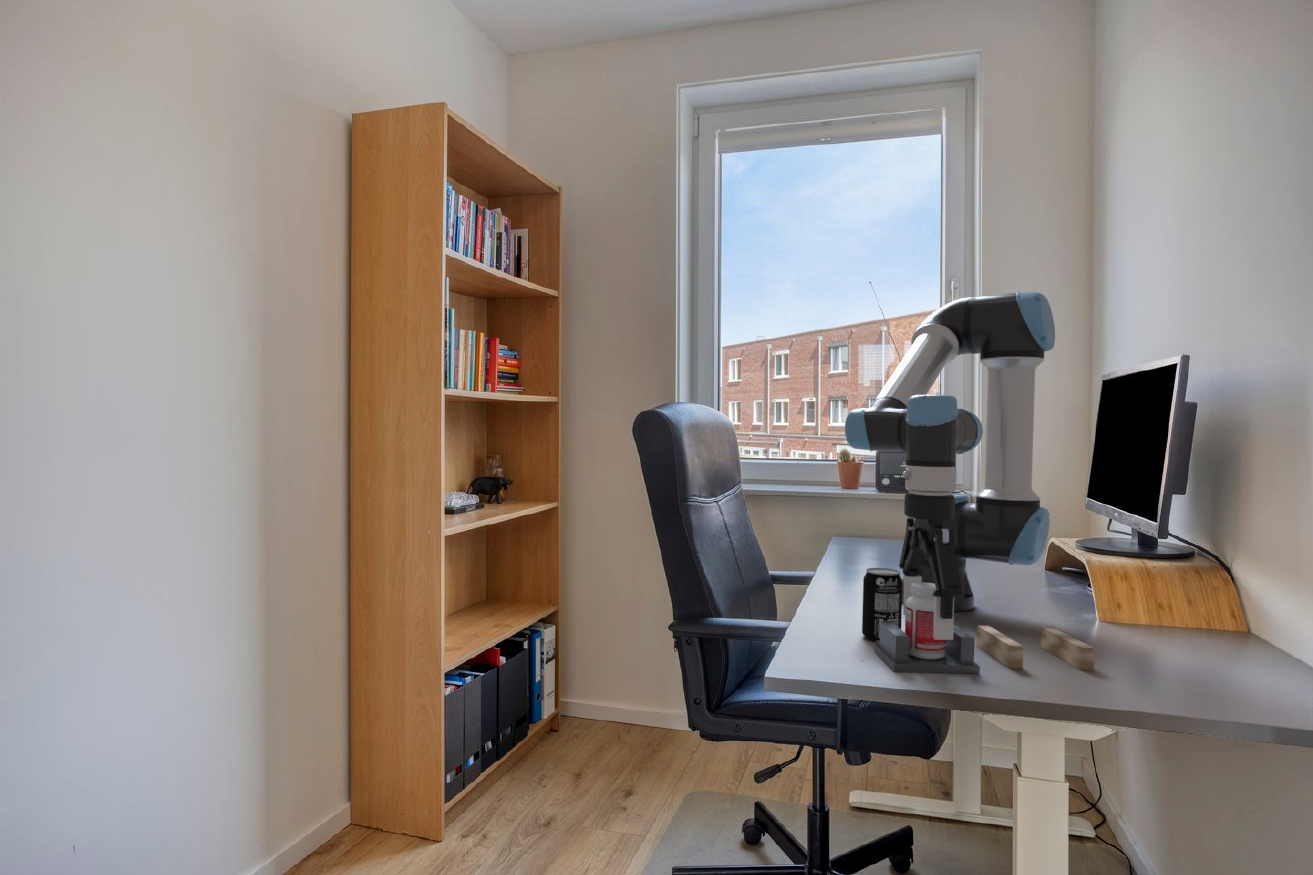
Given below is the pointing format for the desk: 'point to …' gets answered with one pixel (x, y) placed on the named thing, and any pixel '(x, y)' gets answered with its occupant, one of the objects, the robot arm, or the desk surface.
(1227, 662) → the desk surface
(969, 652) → the cradle
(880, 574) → the beverage can
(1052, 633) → the guide channel
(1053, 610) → the desk surface
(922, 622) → the pill bottle
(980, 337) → the robot arm
